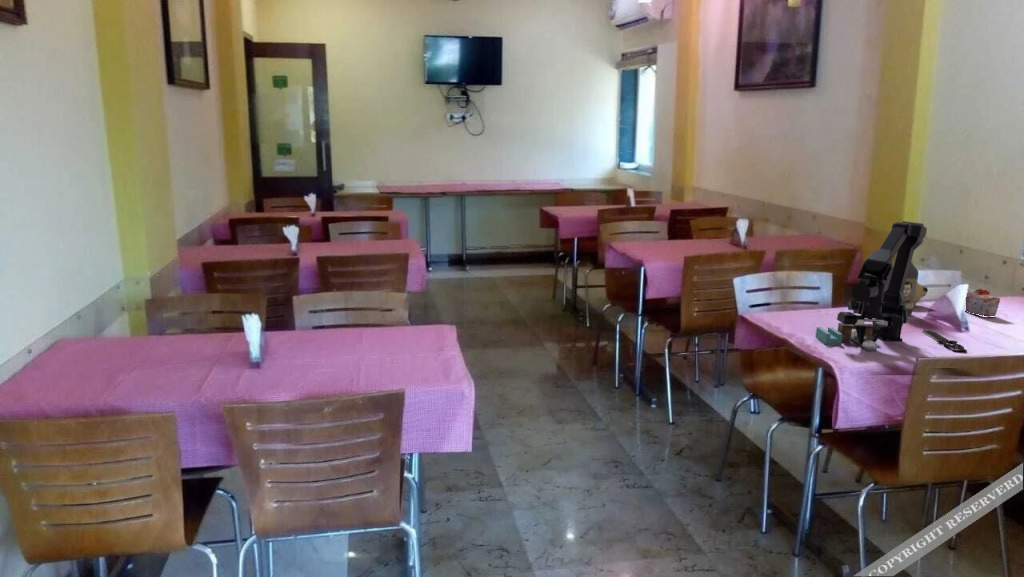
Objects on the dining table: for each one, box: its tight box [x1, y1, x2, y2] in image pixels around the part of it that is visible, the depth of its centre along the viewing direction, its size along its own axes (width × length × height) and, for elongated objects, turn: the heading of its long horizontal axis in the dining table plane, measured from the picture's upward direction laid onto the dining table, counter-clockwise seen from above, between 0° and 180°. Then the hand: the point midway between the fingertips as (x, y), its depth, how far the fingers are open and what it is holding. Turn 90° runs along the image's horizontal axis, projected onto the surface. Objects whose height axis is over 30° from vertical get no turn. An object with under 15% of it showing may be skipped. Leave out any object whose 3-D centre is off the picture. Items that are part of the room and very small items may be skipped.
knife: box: [921, 329, 968, 354], centre depth 256 cm, size 25×6×1 cm, turn 171°
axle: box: [851, 329, 878, 353], centre depth 249 cm, size 3×16×3 cm, turn 1°
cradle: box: [815, 326, 843, 346], centre depth 251 cm, size 5×8×4 cm, turn 0°
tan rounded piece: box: [913, 281, 929, 307], centre depth 303 cm, size 10×12×11 cm
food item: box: [965, 288, 1001, 316], centre depth 293 cm, size 14×8×10 cm, turn 11°
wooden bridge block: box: [837, 322, 873, 342], centre depth 252 cm, size 11×3×5 cm, turn 90°
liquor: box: [884, 261, 919, 317], centre depth 288 cm, size 9×9×30 cm
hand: (866, 344), depth 245 cm, fingers closed on axle, 3 cm apart
